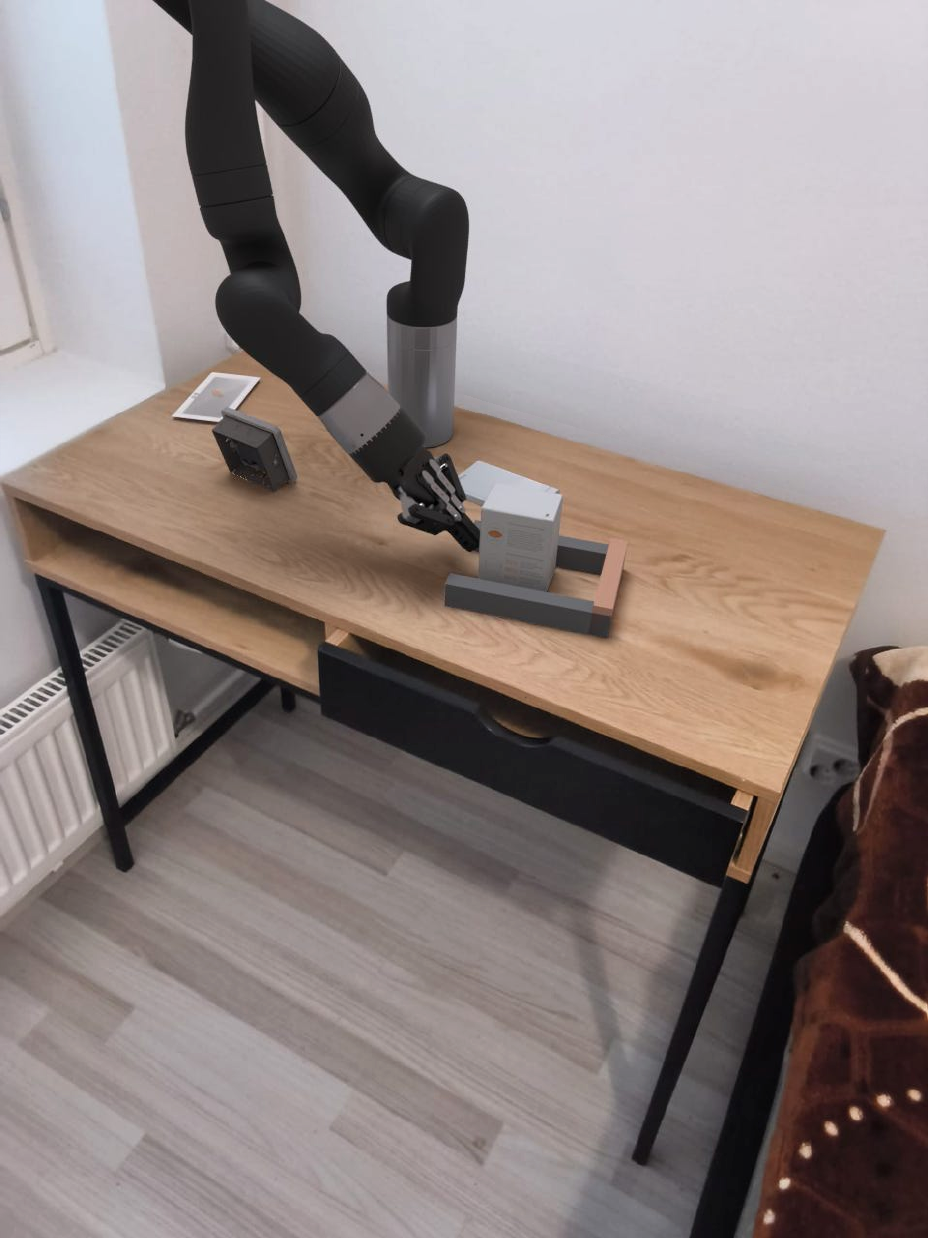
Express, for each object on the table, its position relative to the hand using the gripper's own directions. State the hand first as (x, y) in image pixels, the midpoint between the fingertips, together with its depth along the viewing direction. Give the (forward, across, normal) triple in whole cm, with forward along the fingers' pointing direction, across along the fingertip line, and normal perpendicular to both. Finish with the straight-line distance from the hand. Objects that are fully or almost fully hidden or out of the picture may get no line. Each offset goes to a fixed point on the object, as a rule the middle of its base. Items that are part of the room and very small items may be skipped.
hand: (477, 545), depth 102 cm
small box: (+6, +1, 0) cm, 6 cm away
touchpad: (-30, +30, +37) cm, 56 cm away
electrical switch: (-19, +11, +26) cm, 34 cm away
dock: (+9, 0, -3) cm, 9 cm away
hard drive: (+3, +18, +4) cm, 19 cm away
